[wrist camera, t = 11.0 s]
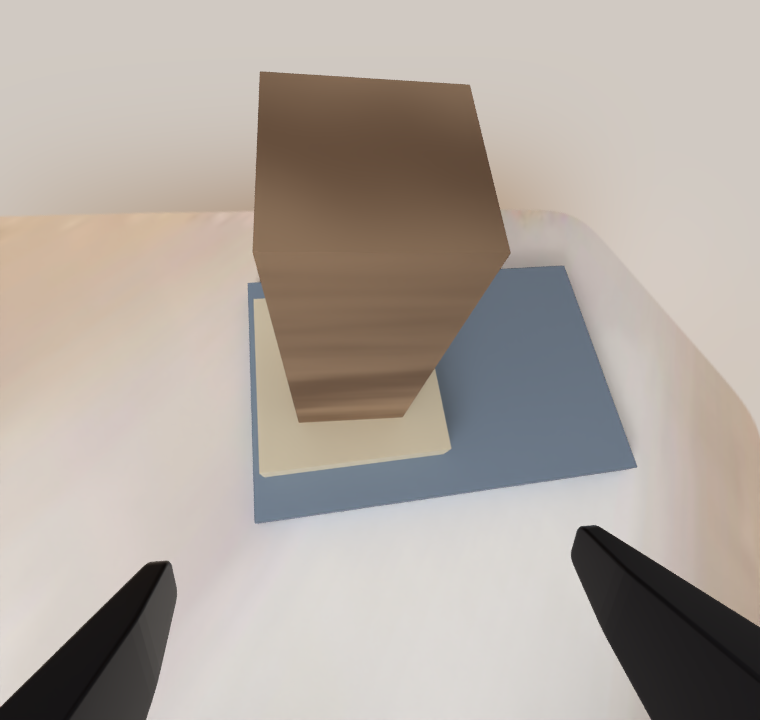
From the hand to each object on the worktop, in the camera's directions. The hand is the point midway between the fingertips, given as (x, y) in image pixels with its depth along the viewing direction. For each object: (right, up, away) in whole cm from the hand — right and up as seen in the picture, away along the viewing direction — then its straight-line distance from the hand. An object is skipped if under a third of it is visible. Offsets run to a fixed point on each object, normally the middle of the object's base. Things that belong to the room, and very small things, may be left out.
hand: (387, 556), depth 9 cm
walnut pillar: (-2, +4, +12) cm, 12 cm away
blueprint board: (+3, +3, +15) cm, 15 cm away
